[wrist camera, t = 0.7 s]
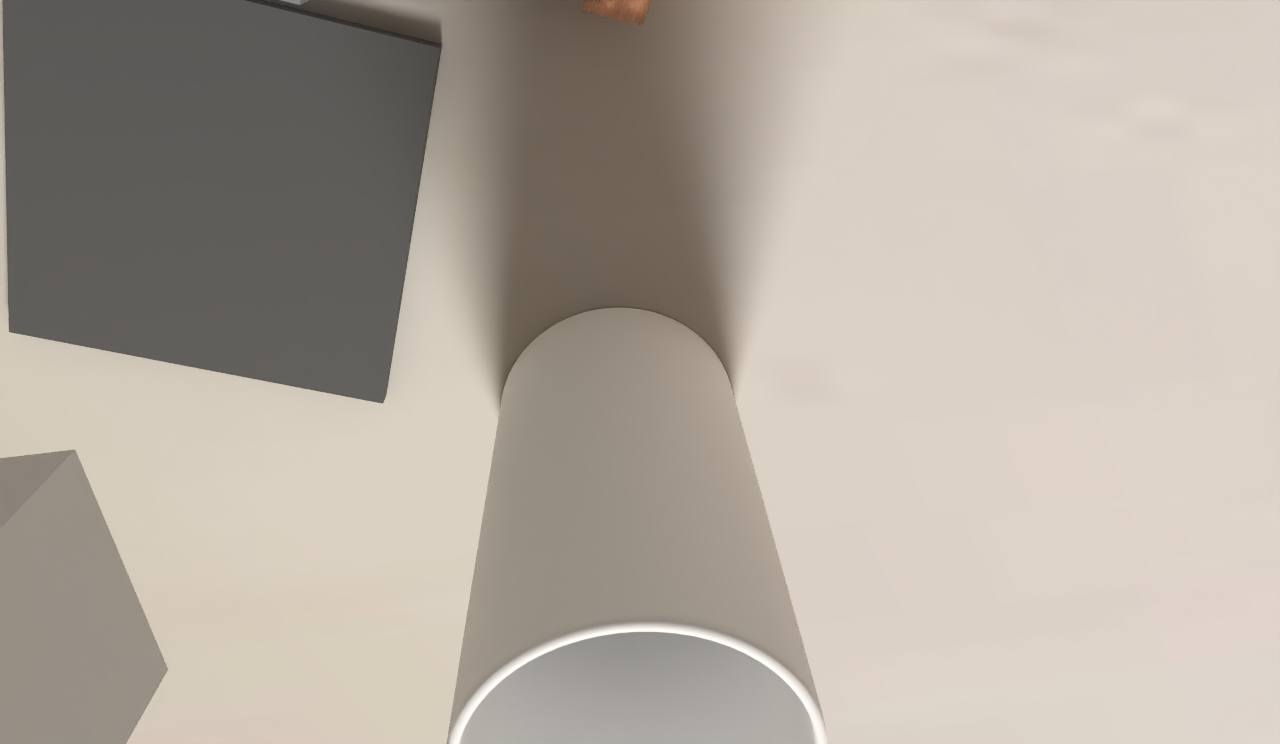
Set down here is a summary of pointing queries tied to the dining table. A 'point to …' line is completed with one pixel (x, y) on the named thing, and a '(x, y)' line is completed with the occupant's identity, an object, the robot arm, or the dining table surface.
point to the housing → (296, 1)
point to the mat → (214, 184)
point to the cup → (627, 555)
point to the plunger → (619, 9)
